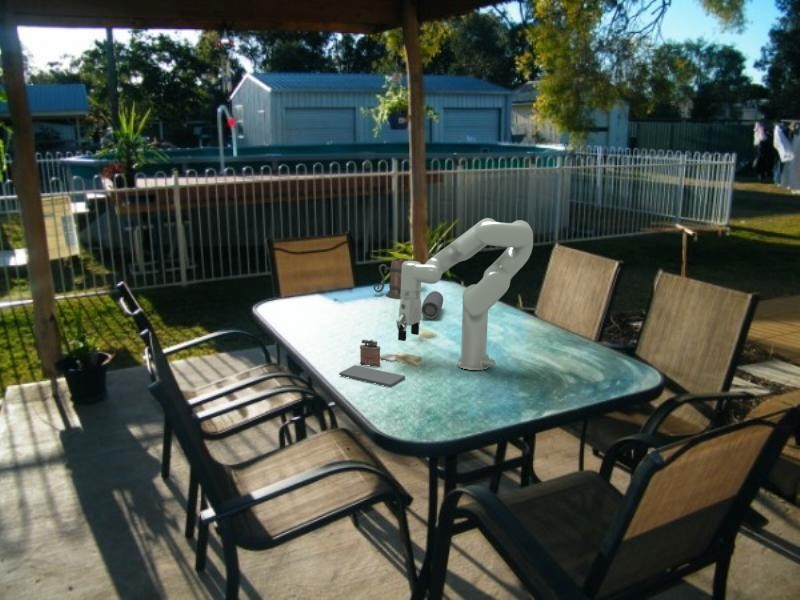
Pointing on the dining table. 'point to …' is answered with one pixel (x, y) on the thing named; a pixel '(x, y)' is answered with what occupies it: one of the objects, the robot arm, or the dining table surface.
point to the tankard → (393, 278)
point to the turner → (402, 358)
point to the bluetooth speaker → (432, 305)
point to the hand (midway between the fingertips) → (408, 337)
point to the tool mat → (372, 375)
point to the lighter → (370, 353)
